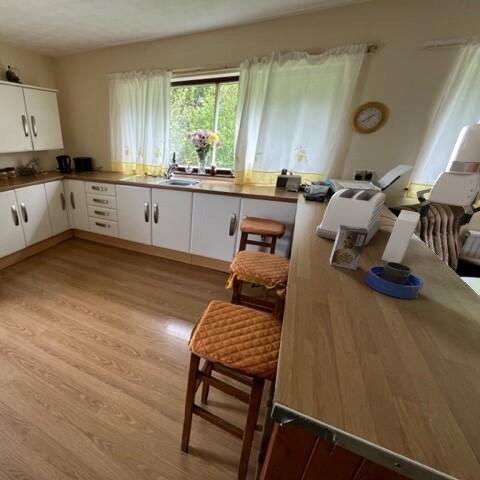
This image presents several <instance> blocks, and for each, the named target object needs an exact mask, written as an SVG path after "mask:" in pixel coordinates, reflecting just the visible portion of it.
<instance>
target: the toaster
mask: <svg viewBox="0 0 480 480" xmlns="http://www.w3.org/2000/svg"><path fill="white" fill-rule="evenodd" d="M386 196H387V194H386V193H385V192H374V191H367V190H363V189H362V190H359V189H358V190H357V189H352V188H342V189H340V190H338V191H336V192H335V193H334V194H333V195H332V196H331V198H330V199H329V202H328V204H327V207H326V209H325V211H324V215H323V217H322V222H321V223H319V225H317V227H316V229H315V233H316V235H317V236H319V237H321V238H325V239H329V240H333V241H335V240H336V236H337V233H338V229H339V226H340V225H345V226H353V227H360V228H366V229H367V232H368V236H367V239H366V242H365V245H364V246H366V245H368V244H369V242H370V241H371V240H372V238H374V236H375V235H376V233H377V232H378V230H380V228H381V226H382V220H381V219H380V216H381V214H382V211H383V207H384V204H385V200H386Z"/></svg>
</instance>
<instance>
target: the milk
mask: <svg viewBox="0 0 480 480" xmlns="http://www.w3.org/2000/svg"><path fill="white" fill-rule="evenodd" d="M420 220H421V219H420V214H419V212H417V211H410V210H406V209H402V210H400V212H399V215H398V217H397V218H396V221H395V223H394V226H393V227H392V230H391V234H390V236H389V238H388V241H387V244H386V246H385V249H384V251H383V254H382V256H381V258H380V260H382V261H385V262H396V263H400V264H401V262H402V261H403V259H404V257H405V255H406V252H407V250H408V247H409V244H410V242H411V241H412V238H413V236H414V234H415V231H416V229H417V226H418V224H419V221H420Z"/></svg>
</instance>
